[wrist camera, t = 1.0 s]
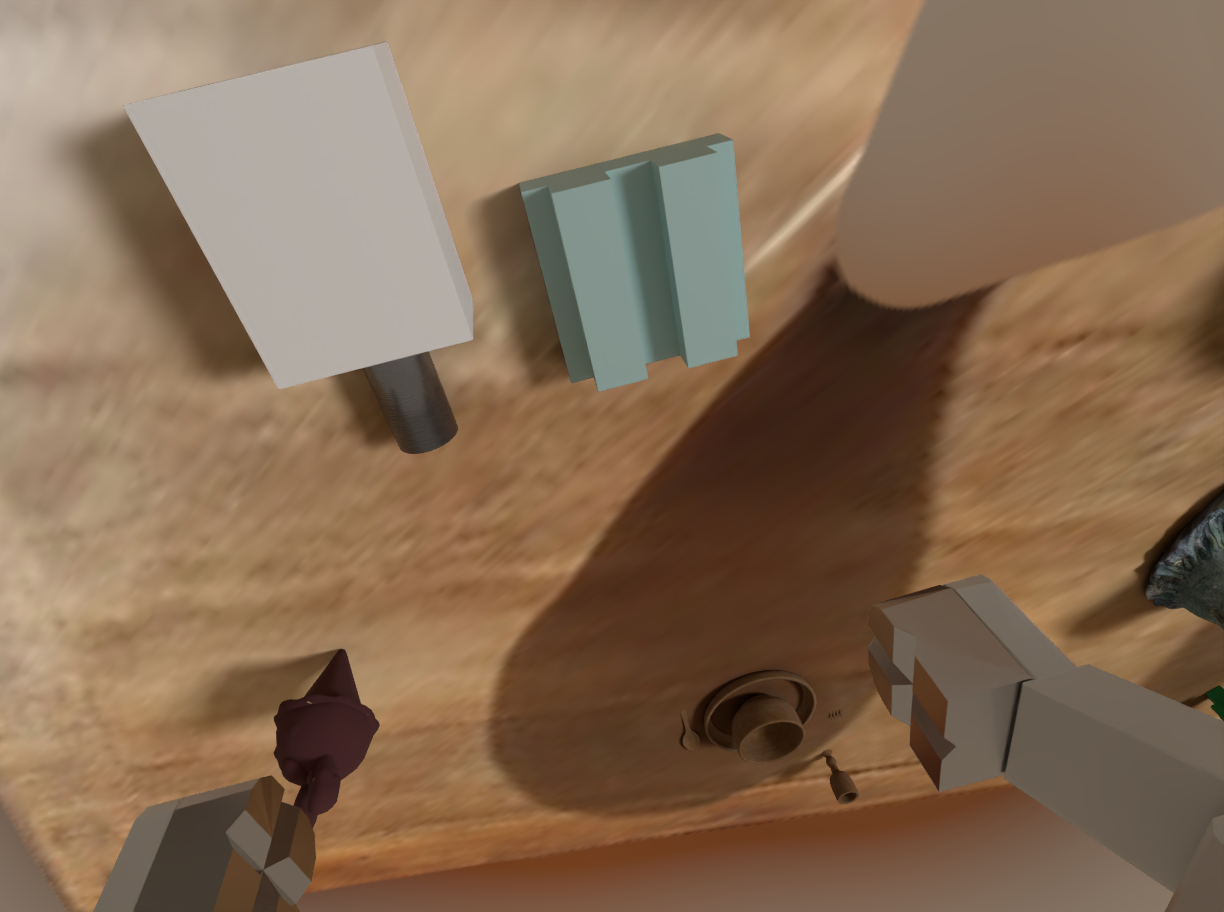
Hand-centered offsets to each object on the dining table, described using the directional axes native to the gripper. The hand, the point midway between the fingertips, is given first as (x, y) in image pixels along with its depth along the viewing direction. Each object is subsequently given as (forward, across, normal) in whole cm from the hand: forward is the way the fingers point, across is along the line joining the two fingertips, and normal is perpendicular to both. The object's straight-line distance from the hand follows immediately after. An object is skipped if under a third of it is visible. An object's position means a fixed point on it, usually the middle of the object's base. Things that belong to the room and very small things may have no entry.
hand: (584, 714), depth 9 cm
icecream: (+37, +23, +31) cm, 53 cm away
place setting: (+38, -11, +58) cm, 71 cm away
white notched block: (+36, +9, -2) cm, 37 cm away
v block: (+36, -7, +5) cm, 37 cm away
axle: (+36, +9, +6) cm, 38 cm away
